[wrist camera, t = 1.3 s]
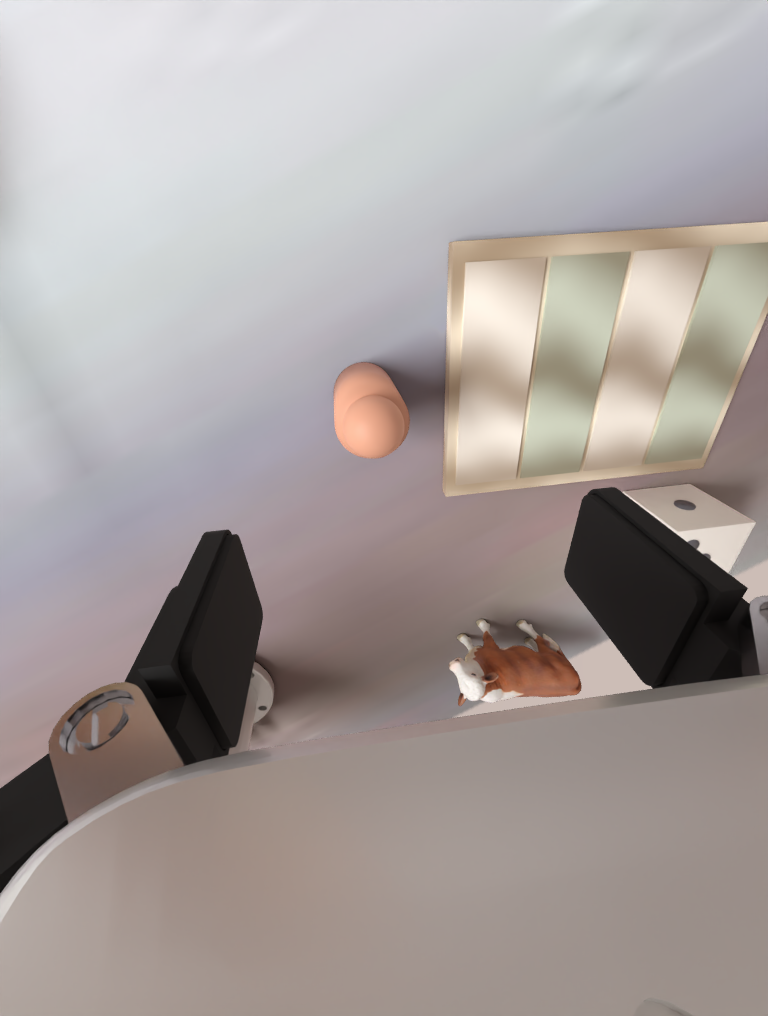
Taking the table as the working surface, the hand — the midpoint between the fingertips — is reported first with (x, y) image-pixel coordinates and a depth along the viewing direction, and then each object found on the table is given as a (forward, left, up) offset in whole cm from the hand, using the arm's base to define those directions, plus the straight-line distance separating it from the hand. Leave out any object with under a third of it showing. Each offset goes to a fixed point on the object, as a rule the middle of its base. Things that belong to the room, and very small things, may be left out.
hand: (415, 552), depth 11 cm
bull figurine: (-25, -11, -18) cm, 33 cm away
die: (-13, -24, -17) cm, 32 cm away
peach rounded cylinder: (0, 0, -18) cm, 18 cm away
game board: (0, -16, -17) cm, 24 cm away
